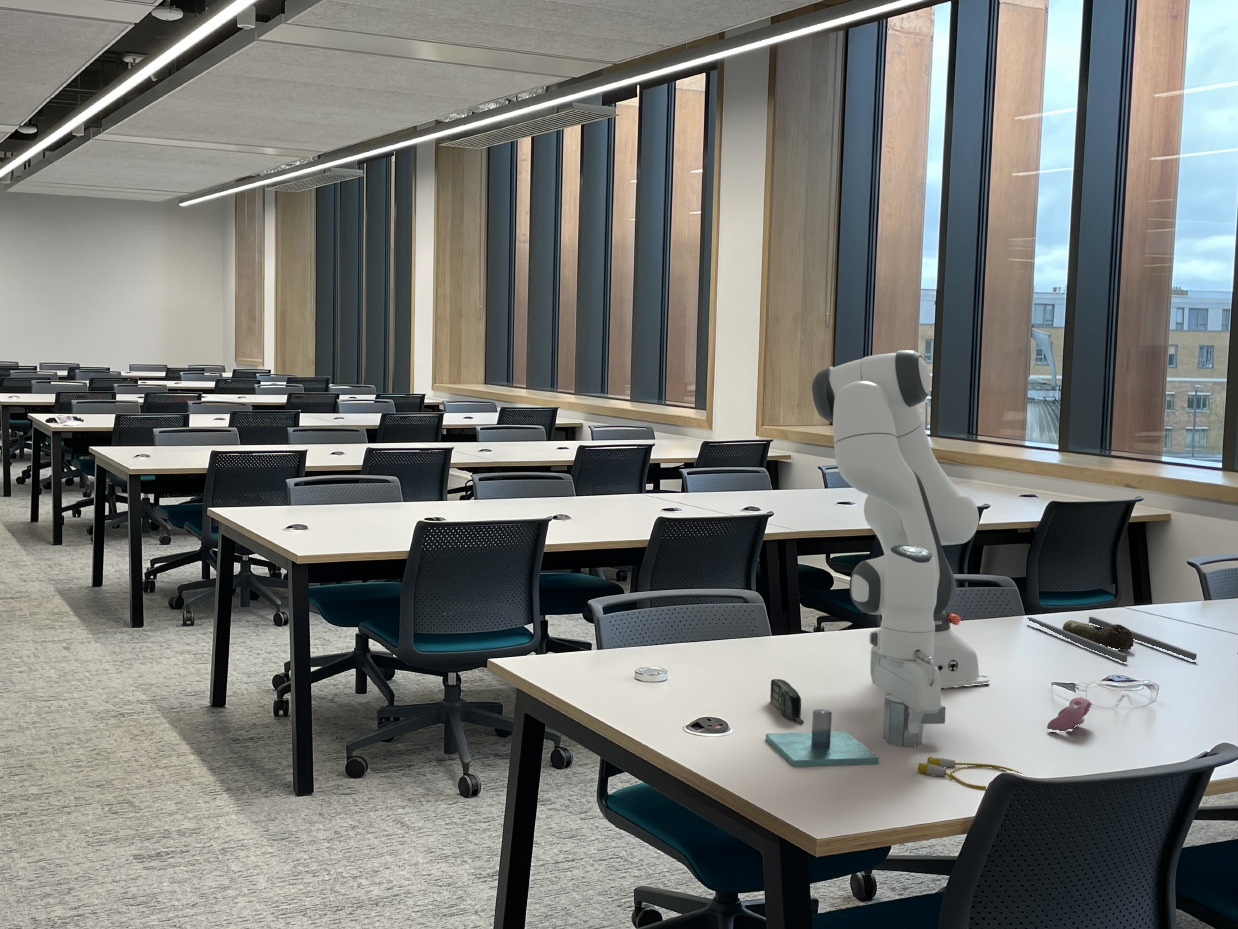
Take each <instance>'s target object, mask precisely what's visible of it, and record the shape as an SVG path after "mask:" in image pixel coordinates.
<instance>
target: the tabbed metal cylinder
mask: <svg viewBox="0 0 1238 929" xmlns="http://www.w3.org/2000/svg"><path fill="white" fill-rule="evenodd" d="M883 707H884V709H883V710H884V711H883V712H884V713H883V724H882V725H883V729H882V740H883V741H884V742H886V743H887V744H888V745H894V746H897V745H898V747H904V746H908V747H918V746H919V745H918V744H920V743H921V742H922V743H923V732H924V725H936V724H937V725H939V724H940V725H941V724H943V725H944V724H946V708H947V707H946V706H945V705H942V704H941V705H940V709H939V711H938V713H935V714H924V715H923V717H922V719H921V721H920V724H919V732H918V733H910V732H908V731H907V730H906V729H905V727H906V720H908V719H909V715H910V713H909V712H908V711H909V707H908V706H907V705H905V704H904V703H902V702H901V701H900V700H899V699H897V698H896V697H894V696H893V695H891V694H889V693H887V694H886V698H885V697H884V706H883ZM922 743H921V744H922ZM921 744H920V745H921ZM915 745H916V746H915ZM917 745H918V746H917Z"/></svg>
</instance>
